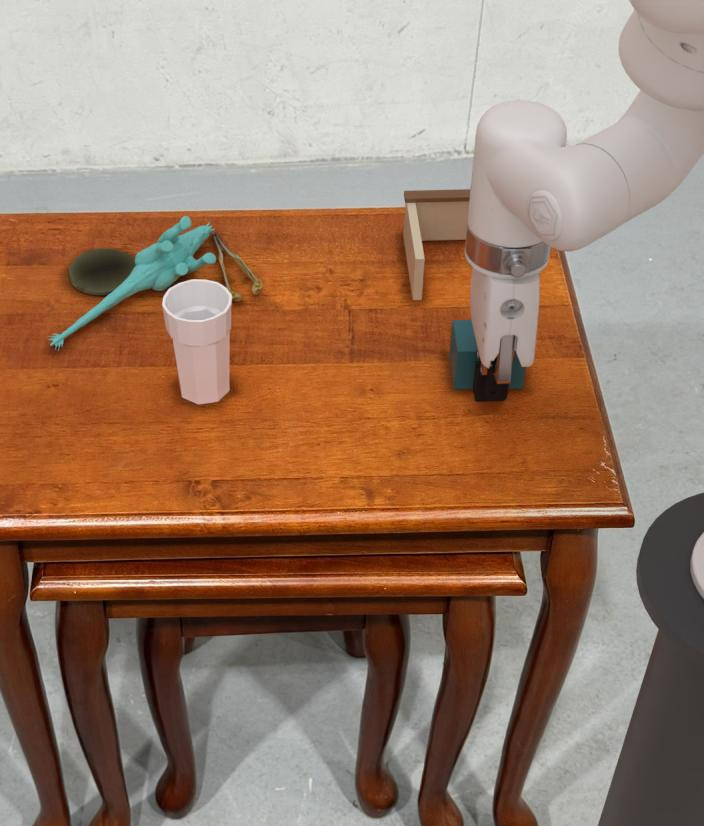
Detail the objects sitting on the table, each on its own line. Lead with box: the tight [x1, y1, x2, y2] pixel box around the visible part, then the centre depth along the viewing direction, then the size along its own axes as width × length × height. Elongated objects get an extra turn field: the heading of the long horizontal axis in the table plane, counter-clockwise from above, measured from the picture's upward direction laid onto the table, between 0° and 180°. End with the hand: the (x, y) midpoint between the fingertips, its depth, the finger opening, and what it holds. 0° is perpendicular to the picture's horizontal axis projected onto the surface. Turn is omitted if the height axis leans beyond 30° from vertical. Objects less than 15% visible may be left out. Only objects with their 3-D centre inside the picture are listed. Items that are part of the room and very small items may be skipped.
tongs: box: [210, 231, 263, 303], centre depth 143 cm, size 4×13×2 cm, turn 25°
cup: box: [161, 278, 233, 406], centre depth 126 cm, size 7×7×11 cm
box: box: [448, 319, 527, 391], centre depth 129 cm, size 5×7×5 cm
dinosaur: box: [47, 215, 217, 351], centre depth 138 cm, size 6×25×8 cm
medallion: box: [68, 247, 136, 296], centre depth 143 cm, size 8×8×1 cm
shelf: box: [402, 188, 471, 301], centre depth 142 cm, size 12×12×6 cm
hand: (489, 396), depth 127 cm, fingers closed
